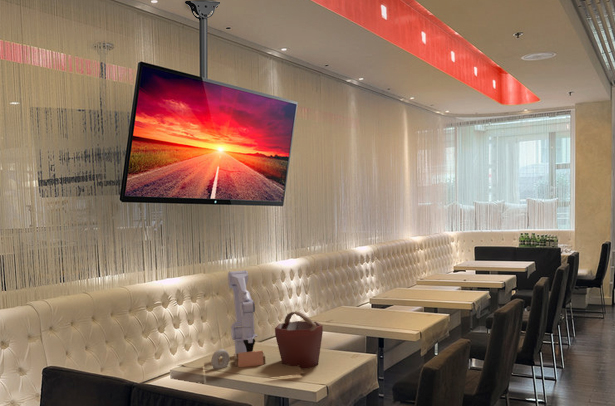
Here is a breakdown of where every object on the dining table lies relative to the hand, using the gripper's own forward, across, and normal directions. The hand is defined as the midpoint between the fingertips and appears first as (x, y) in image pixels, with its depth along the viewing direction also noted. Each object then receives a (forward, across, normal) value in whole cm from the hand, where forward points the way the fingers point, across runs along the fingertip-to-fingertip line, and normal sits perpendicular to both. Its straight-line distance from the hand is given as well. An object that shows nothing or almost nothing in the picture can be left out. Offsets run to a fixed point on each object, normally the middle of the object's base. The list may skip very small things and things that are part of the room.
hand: (249, 355), depth 280 cm
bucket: (+6, -5, -23) cm, 24 cm away
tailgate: (+4, -4, 0) cm, 6 cm away
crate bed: (+6, +3, 0) cm, 6 cm away
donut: (+6, -1, +14) cm, 15 cm away
